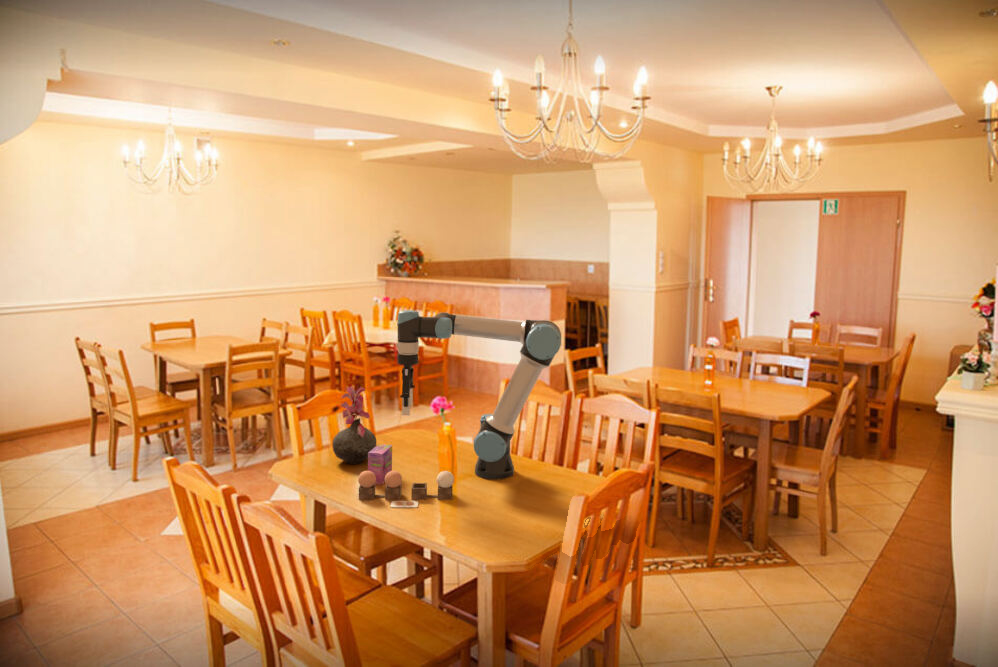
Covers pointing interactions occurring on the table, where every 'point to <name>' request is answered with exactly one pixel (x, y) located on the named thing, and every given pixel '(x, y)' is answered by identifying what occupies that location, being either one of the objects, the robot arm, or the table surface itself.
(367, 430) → the vase
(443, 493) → the rack
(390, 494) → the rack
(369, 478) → the terracotta ball
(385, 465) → the box
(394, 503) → the card
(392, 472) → the terracotta ball
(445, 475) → the ball cream
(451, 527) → the table surface
